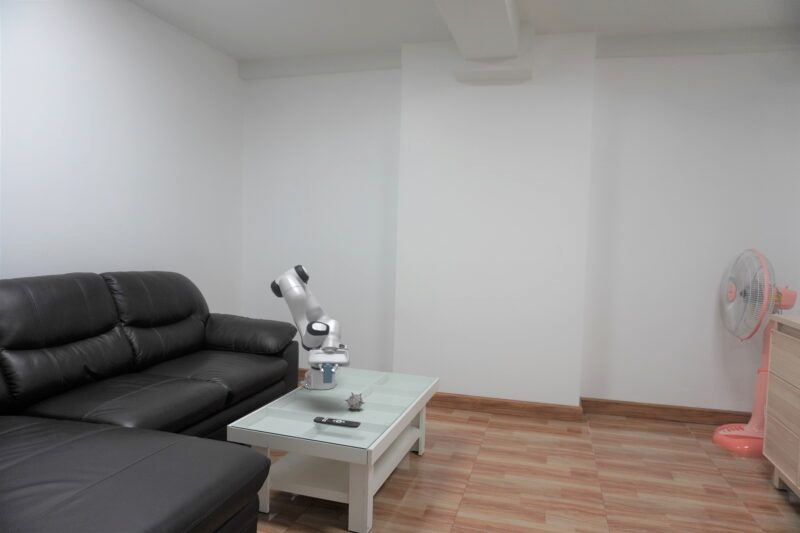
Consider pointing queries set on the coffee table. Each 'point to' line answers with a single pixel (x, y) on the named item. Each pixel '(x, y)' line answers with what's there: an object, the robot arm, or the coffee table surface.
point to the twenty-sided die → (355, 401)
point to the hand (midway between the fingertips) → (327, 373)
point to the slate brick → (327, 373)
